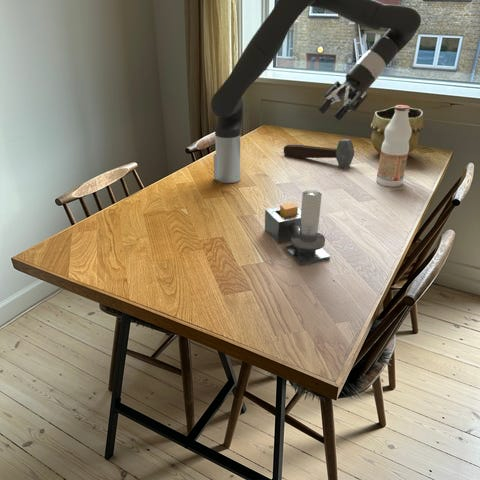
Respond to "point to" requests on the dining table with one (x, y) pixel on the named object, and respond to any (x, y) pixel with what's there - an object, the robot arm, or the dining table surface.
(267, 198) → the dining table surface
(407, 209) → the dining table surface
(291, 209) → the orange block
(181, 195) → the dining table surface
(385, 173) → the fruit juice
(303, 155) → the hammer
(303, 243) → the bracket post
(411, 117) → the clay pot
